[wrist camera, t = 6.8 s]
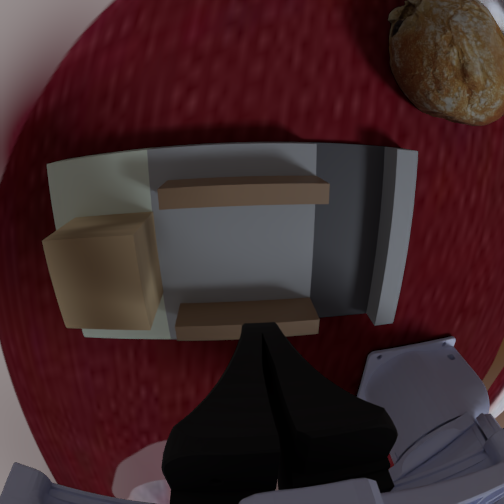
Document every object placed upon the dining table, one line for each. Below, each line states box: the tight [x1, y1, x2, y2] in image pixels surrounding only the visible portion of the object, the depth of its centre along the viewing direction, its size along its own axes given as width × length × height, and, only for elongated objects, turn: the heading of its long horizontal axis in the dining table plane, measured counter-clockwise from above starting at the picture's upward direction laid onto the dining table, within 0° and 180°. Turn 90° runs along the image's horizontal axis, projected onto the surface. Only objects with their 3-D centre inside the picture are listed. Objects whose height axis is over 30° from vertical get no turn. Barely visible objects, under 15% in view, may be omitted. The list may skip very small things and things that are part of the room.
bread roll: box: [388, 0, 504, 126], centre depth 14 cm, size 10×10×8 cm
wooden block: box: [42, 212, 163, 330], centre depth 16 cm, size 5×5×4 cm
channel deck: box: [47, 142, 418, 341], centre depth 18 cm, size 22×12×4 cm, turn 91°
